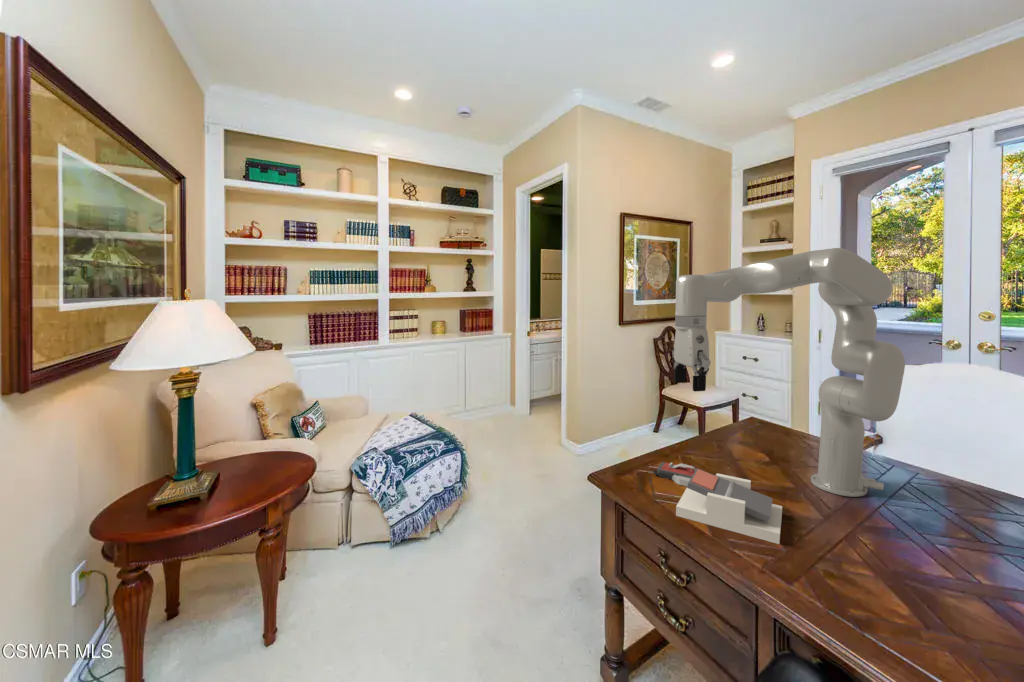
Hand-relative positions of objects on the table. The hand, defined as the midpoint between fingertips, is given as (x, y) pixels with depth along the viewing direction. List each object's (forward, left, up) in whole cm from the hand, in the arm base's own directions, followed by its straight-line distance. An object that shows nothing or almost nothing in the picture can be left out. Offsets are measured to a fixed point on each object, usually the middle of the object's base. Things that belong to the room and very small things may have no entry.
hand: (689, 386), depth 109 cm
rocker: (-11, +4, -25) cm, 28 cm away
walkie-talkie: (+2, -11, -32) cm, 34 cm away
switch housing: (-11, +4, -31) cm, 33 cm away
